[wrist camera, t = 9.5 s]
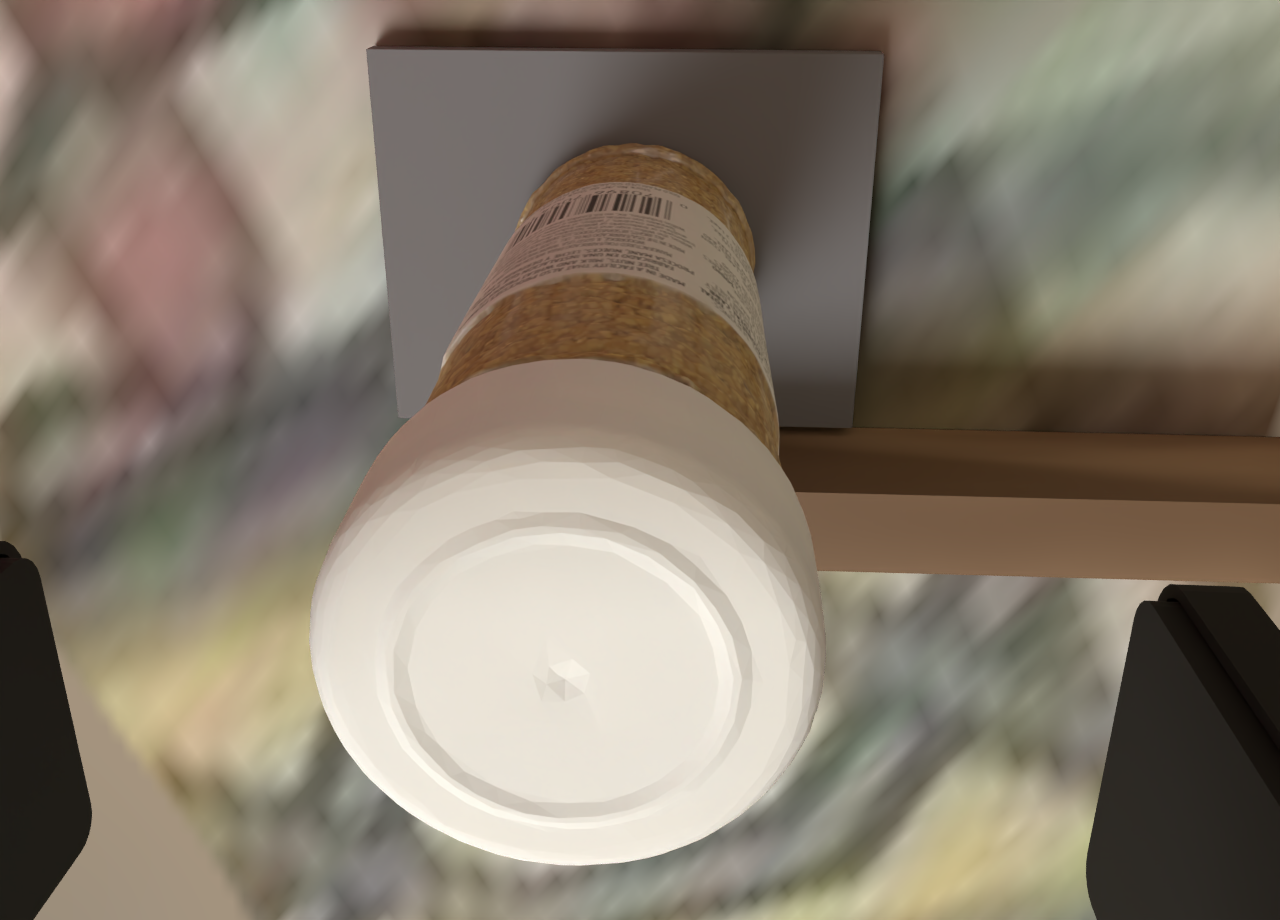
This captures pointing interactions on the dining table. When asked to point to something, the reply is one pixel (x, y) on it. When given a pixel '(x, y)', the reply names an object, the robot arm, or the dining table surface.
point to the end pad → (615, 115)
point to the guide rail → (1038, 503)
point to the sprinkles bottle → (584, 541)
